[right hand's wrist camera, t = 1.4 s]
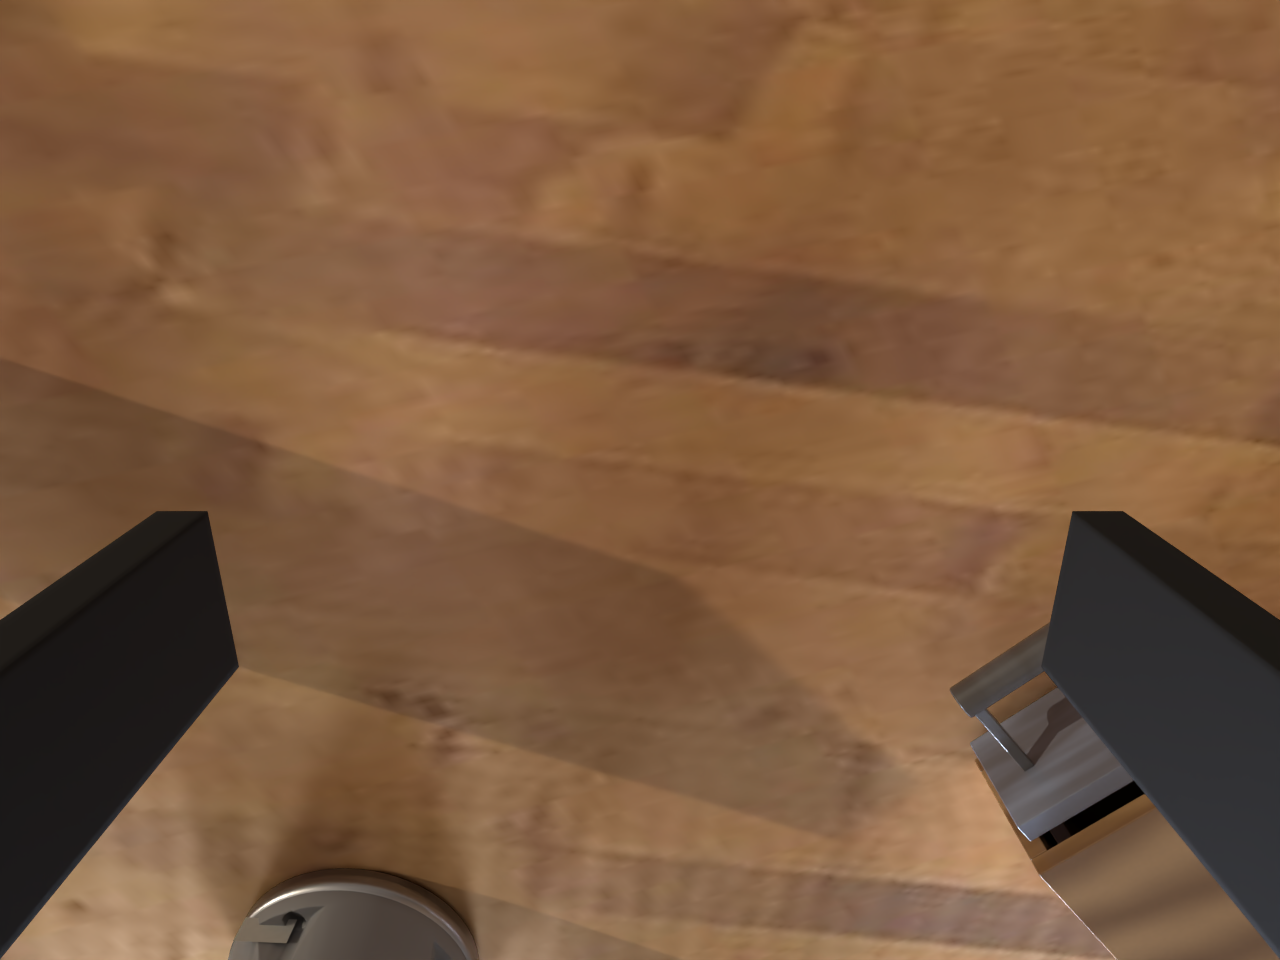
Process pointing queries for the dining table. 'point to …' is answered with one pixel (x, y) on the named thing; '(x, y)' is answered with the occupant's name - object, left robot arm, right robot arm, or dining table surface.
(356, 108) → the dining table surface
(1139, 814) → the cabinet
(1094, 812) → the drawer
